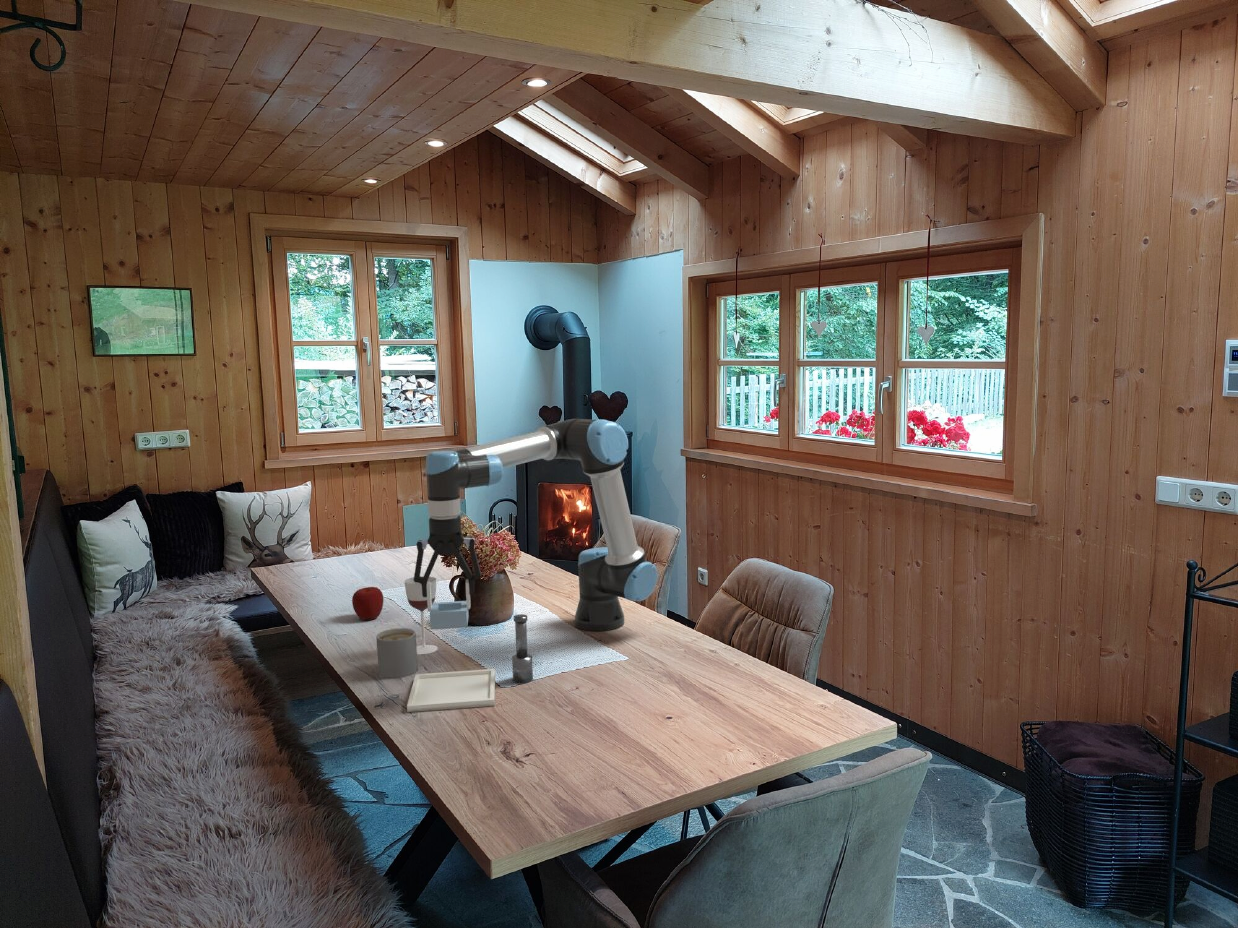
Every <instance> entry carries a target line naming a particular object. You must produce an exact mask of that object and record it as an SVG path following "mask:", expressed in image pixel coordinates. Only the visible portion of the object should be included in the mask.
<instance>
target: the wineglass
mask: <svg viewBox="0 0 1238 928" xmlns="http://www.w3.org/2000/svg"><path fill="white" fill-rule="evenodd" d="M420 576H421V575H420ZM421 577H424V575H423V576H421ZM427 582H431V599H432V603H435V600H436V595H437V593H436V592H437V578H436V577H434V576H429V578H428V581H427ZM404 589H405V595H406V598H407V602H408V604H409V605H410V606H411V608H413V609H415V610H418V611H420V623H421V640H422V642H421V643H422V644H421V645H418V646H417V645H416V647H417V655H428V654H432V653H434V652H436V651H438V649H439V648H438V646H437V645H433V644H426V635H425V633H426V631H425V617H424V616H425V615H424V613H425V612H424V611H425V610H428V605H427V597H423V596H422V585H421V583H418V582H414V576H413V577H409V578H406V579H405V580H404Z"/></svg>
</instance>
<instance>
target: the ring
mask: <svg viewBox="0 0 1238 928" xmlns="http://www.w3.org/2000/svg"><path fill="white" fill-rule="evenodd" d="M469 618H470V617H469V609H467V602H466V600H456V601H441V602H438V601H437V602H434V603H432V607H431V610H430V611H429V624H430V630H440V629H442V630H443V629H456V628H457V629H459V628H467V627H468V623H469Z"/></svg>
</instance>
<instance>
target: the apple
mask: <svg viewBox="0 0 1238 928" xmlns="http://www.w3.org/2000/svg"><path fill="white" fill-rule="evenodd" d="M351 602H352V607H353V610H354V612H355V614H356V616H357V617H358V618H359V619H361V620H363V621H364V620H365V621H367V620H368V621H369V620H375V619H377V618H378V617H379V616H380V615H381V613H382V611H383V607H384V594H383V591H382V590H381V589H380V588H379V587H375V586H367V587H362V588H359V589H357V590H356V591H355V592H354V593H353V595H352V598H351Z"/></svg>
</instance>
